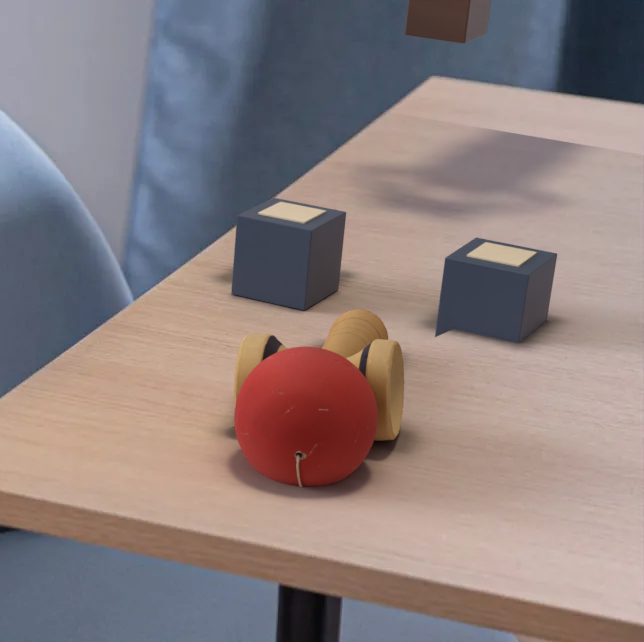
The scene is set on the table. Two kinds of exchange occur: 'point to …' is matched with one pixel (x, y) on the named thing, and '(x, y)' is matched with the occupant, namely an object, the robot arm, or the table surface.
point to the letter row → (325, 263)
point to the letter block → (448, 19)
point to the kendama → (318, 400)
